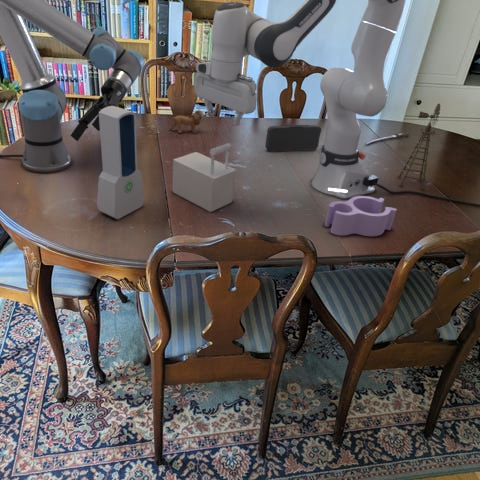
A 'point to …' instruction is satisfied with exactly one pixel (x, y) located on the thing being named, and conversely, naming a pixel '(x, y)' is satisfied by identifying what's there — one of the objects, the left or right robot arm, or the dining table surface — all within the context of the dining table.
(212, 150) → the lid
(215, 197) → the chest
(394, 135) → the sword
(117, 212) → the electronic device
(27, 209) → the dining table surface
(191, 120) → the lion figurine
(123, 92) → the left robot arm
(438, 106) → the miniature windmill
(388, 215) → the clip
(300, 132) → the handheld gaming console
